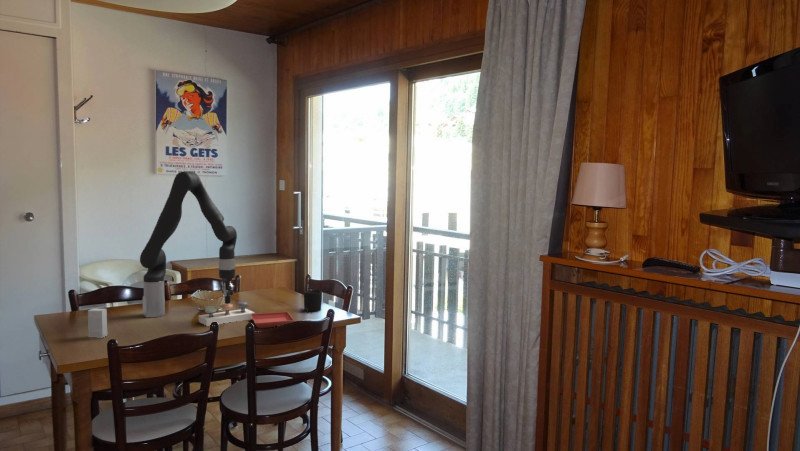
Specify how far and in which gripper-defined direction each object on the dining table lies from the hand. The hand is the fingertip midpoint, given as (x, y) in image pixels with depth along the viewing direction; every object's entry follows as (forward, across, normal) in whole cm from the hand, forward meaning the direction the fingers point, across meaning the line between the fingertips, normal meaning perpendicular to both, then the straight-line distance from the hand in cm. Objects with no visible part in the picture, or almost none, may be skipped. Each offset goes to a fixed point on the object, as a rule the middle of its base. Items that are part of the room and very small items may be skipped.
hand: (227, 303), depth 268 cm
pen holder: (+9, +6, +44) cm, 45 cm away
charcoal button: (+6, 0, +8) cm, 10 cm away
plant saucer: (+9, +16, +15) cm, 24 cm away
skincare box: (+8, -5, -55) cm, 56 cm away
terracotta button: (+6, 0, 0) cm, 6 cm away
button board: (+8, 0, 0) cm, 8 cm away
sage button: (+6, 0, -8) cm, 10 cm away
